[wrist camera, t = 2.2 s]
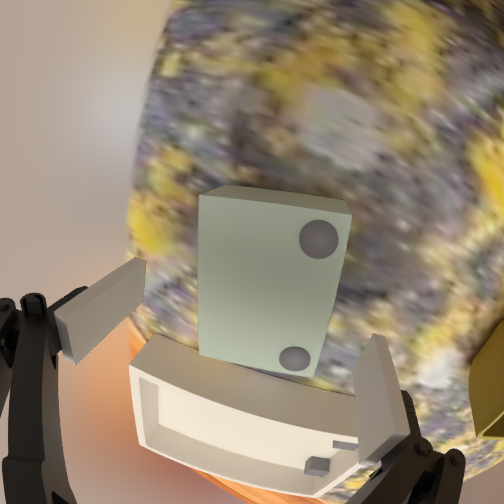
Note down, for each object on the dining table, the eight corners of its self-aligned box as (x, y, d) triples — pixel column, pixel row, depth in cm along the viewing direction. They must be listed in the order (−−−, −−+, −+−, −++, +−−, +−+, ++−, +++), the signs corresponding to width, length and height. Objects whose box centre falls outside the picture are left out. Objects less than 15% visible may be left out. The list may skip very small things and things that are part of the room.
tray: (155, 332, 25) (128, 364, 21) (386, 402, 23) (392, 441, 18) (155, 419, 32) (139, 444, 27) (319, 469, 29) (316, 498, 24)
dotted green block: (227, 184, 19) (197, 195, 14) (343, 199, 18) (353, 216, 13) (220, 317, 23) (198, 356, 18) (315, 334, 22) (312, 379, 17)
